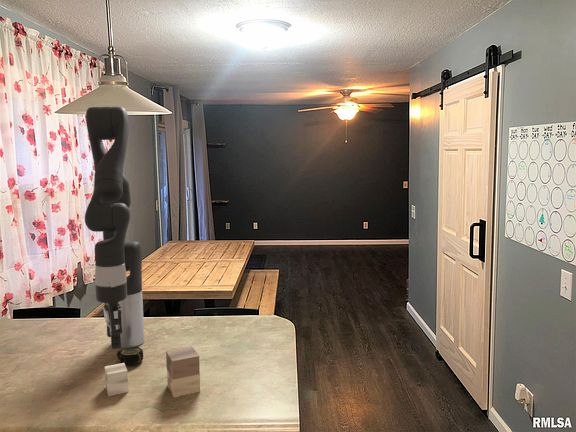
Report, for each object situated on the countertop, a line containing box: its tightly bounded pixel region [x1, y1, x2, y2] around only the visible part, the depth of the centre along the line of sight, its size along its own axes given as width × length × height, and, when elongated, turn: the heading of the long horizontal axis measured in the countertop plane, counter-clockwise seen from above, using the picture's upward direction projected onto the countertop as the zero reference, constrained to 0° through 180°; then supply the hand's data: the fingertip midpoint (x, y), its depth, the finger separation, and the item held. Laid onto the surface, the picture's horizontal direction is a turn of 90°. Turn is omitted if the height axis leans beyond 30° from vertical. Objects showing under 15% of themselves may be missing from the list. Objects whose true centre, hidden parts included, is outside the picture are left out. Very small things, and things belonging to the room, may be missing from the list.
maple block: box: [104, 362, 129, 397], centre depth 130 cm, size 5×5×6 cm
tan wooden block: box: [166, 369, 201, 398], centre depth 131 cm, size 7×7×5 cm
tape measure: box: [116, 346, 144, 366], centre depth 147 cm, size 7×7×4 cm
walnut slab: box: [165, 345, 201, 380], centre depth 131 cm, size 7×7×5 cm
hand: (113, 342), depth 129 cm, fingers open, 8 cm apart
